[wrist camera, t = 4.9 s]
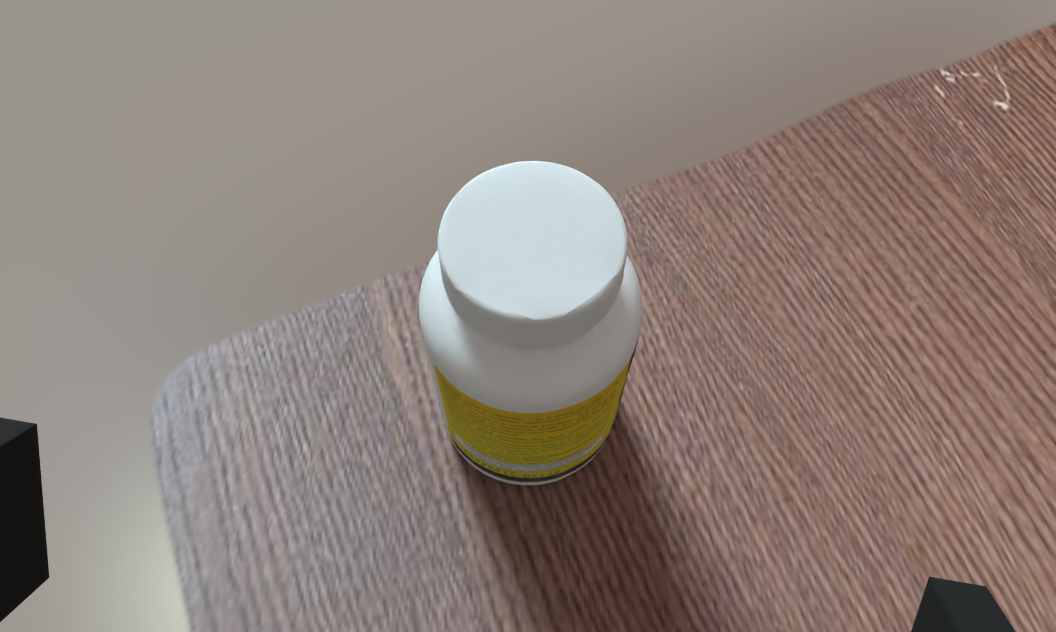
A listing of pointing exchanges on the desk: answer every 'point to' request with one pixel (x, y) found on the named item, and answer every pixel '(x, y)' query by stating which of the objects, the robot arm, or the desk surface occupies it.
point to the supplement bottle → (530, 320)
